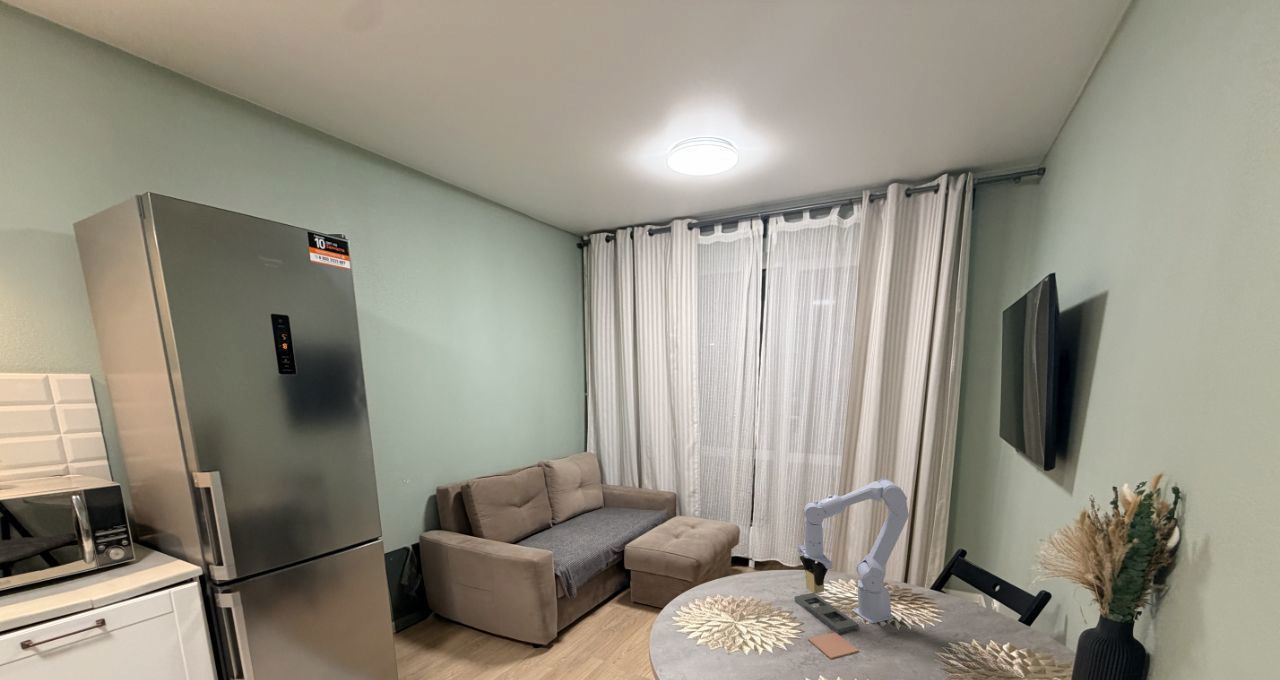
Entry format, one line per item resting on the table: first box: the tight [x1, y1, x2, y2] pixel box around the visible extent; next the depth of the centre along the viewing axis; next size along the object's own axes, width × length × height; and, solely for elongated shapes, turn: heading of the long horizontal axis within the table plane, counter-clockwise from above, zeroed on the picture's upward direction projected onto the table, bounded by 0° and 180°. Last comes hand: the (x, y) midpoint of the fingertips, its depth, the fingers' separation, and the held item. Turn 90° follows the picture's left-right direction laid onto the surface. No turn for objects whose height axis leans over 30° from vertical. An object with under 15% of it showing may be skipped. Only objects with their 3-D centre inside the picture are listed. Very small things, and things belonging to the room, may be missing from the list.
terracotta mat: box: [808, 631, 860, 660], centre depth 128 cm, size 10×9×1 cm
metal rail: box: [794, 592, 860, 635], centre depth 144 cm, size 8×20×2 cm, turn 19°
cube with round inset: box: [805, 568, 825, 594], centre depth 149 cm, size 4×4×6 cm
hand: (814, 581), depth 149 cm, fingers closed on cube with round inset, 4 cm apart
